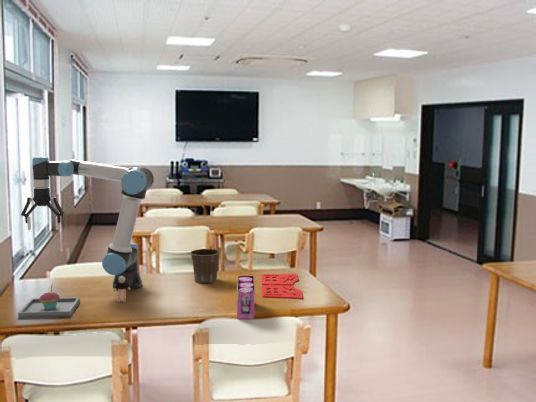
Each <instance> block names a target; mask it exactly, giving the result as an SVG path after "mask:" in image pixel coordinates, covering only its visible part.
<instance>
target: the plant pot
mask: <svg viewBox="0 0 536 402" xmlns="http://www.w3.org/2000/svg"><path fill="white" fill-rule="evenodd" d="M189 254H190V255H191V261H192V270H193V276H194V278H193V280H194V282H196V283H199V284H202V283H204V284H209V283H210V284H212V283H215V282H217V280H218V266H219V258H220V254H221V251H220V250H219V249H216V248H215V249H214V248H198V249H194V250H191V251H190V252H189Z"/></svg>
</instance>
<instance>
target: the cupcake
mask: <svg viewBox="0 0 536 402" xmlns="http://www.w3.org/2000/svg"><path fill="white" fill-rule="evenodd" d="M53 287H54V286H53V284H50V292H45V293H43V294H41V295H40V297H39V298H40V299H39V300H40V302H42V303H43V305H44V308H45V309H54V308H56V305H57V302H58V300H59V298H61V297H60V295H59V294H58V293H57V292H55V291H54V292H53Z"/></svg>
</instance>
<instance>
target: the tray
mask: <svg viewBox="0 0 536 402" xmlns="http://www.w3.org/2000/svg"><path fill="white" fill-rule="evenodd" d="M80 298H81V297H78V296H77V297H60V298H59V300H58V302H57V305H56V308H54V309H45V308H44V305H43V303H42V302H40V300H39V299H40V297H37V298H31V299H30V300H29V301H28V302H27V303H26V304H24V306H23V307H22V308H21V309H20V310H19V311H18V312H17V317H18V319H39V318H68V317H71V316H72V315H73V313H74V312H75V311H76V309H77V307H78V306H79V304H80V303H81V299H80Z"/></svg>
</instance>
